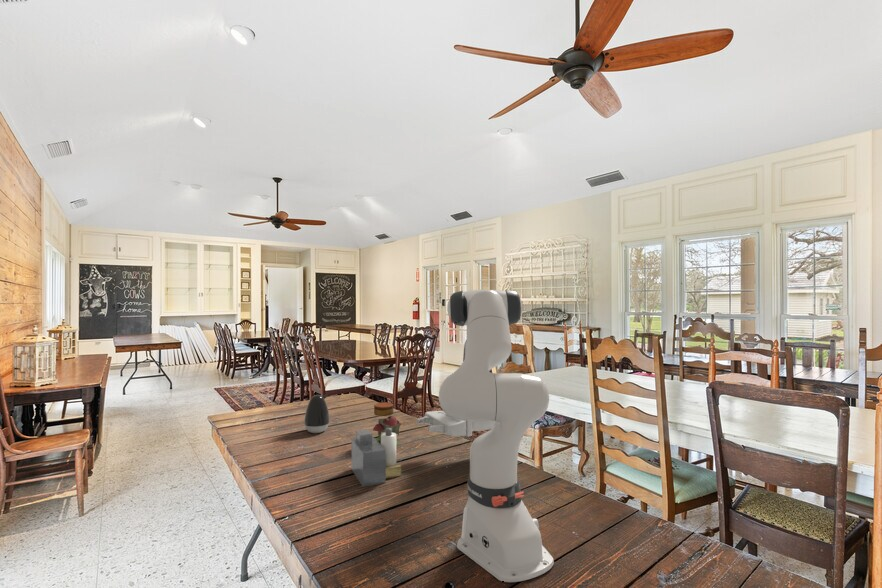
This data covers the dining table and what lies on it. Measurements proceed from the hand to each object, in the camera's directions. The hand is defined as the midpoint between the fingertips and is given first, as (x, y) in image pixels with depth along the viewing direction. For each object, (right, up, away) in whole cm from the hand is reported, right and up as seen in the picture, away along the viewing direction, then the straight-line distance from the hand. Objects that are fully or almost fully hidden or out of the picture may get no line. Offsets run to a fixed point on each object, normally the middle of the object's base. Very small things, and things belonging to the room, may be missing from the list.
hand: (423, 425), depth 141 cm
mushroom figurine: (-16, -14, +21) cm, 29 cm away
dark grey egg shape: (-46, -14, +35) cm, 59 cm away
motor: (-15, -14, -6) cm, 21 cm away
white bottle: (-11, -14, -5) cm, 18 cm away
